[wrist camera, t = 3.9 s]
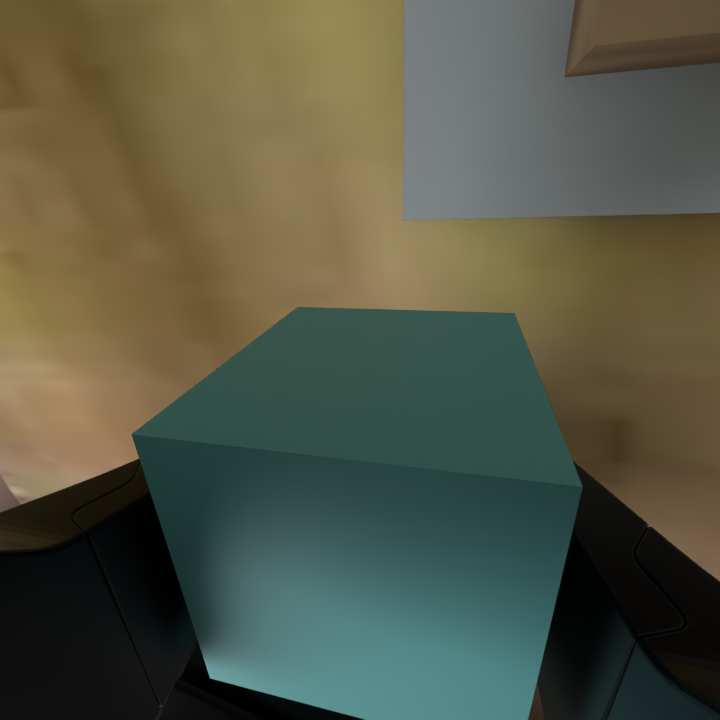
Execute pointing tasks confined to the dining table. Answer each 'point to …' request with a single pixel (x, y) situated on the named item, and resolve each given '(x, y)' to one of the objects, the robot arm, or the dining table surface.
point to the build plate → (546, 121)
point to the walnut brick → (642, 35)
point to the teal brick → (370, 513)
